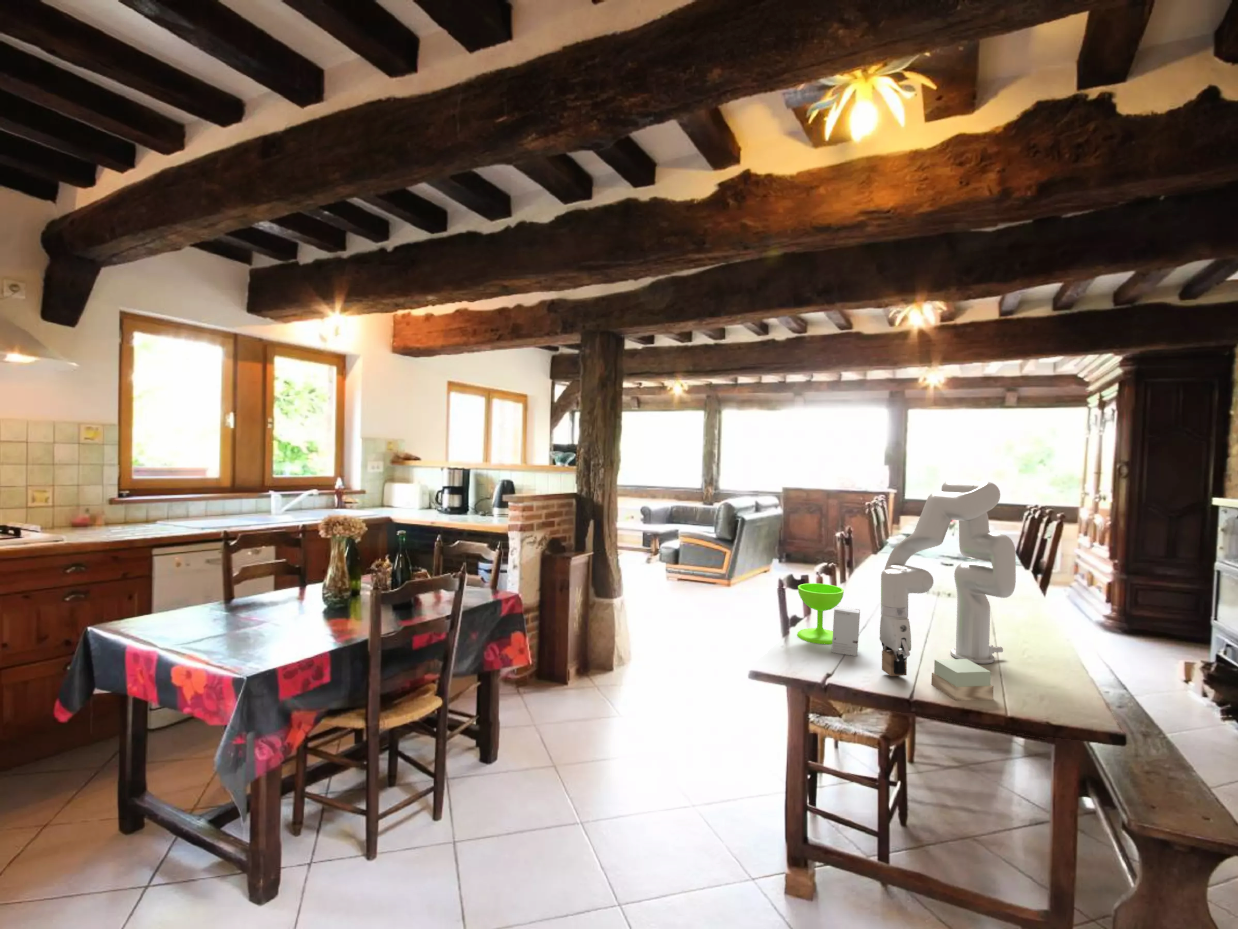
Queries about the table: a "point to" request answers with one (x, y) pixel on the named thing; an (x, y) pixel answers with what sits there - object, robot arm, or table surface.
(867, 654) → the table surface
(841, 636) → the skincare box
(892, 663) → the walnut block
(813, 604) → the wineglass
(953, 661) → the block top
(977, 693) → the block bottom
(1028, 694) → the table surface
